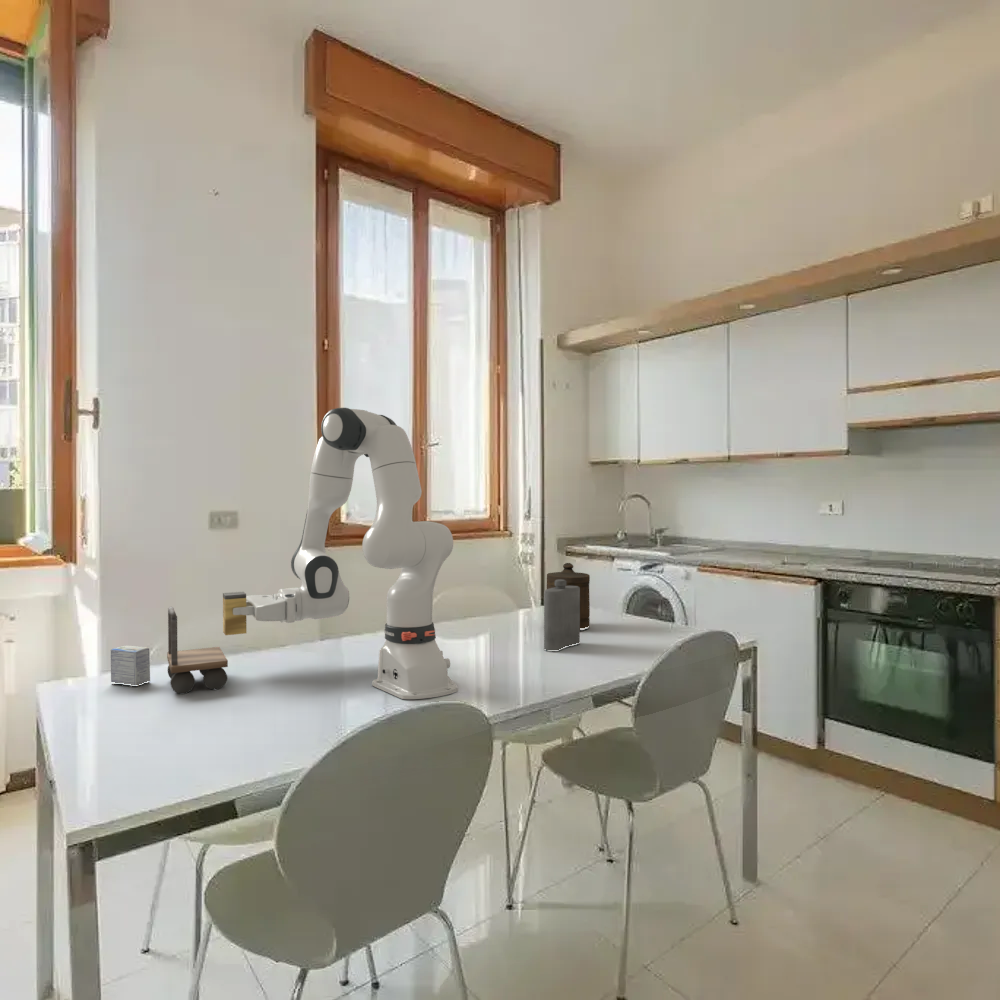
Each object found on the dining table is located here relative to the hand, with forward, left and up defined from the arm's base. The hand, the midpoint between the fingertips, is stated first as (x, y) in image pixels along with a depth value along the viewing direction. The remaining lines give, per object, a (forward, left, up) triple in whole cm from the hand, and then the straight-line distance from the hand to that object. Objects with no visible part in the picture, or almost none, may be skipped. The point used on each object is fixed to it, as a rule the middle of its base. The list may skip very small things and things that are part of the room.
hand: (230, 609), depth 176 cm
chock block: (0, -1, -6) cm, 6 cm away
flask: (-15, -90, -17) cm, 93 cm away
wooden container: (+8, -108, -17) cm, 110 cm away
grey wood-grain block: (+2, +23, -17) cm, 28 cm away
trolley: (-6, +9, -16) cm, 19 cm away
